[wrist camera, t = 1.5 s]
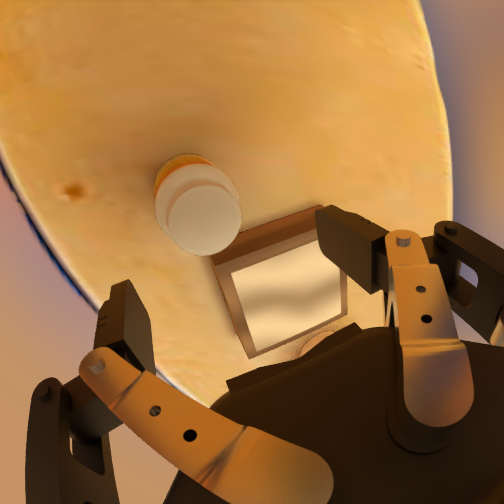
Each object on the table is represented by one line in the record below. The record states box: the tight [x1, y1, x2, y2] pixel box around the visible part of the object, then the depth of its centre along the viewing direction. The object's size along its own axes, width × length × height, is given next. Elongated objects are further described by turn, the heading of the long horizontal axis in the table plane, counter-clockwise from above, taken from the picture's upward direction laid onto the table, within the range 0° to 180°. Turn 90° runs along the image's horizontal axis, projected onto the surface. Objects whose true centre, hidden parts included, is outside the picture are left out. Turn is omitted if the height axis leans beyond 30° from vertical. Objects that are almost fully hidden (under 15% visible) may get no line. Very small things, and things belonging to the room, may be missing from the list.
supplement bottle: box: [154, 154, 241, 256], centre depth 19 cm, size 5×5×10 cm
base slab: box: [209, 205, 347, 359], centre depth 29 cm, size 12×12×4 cm
